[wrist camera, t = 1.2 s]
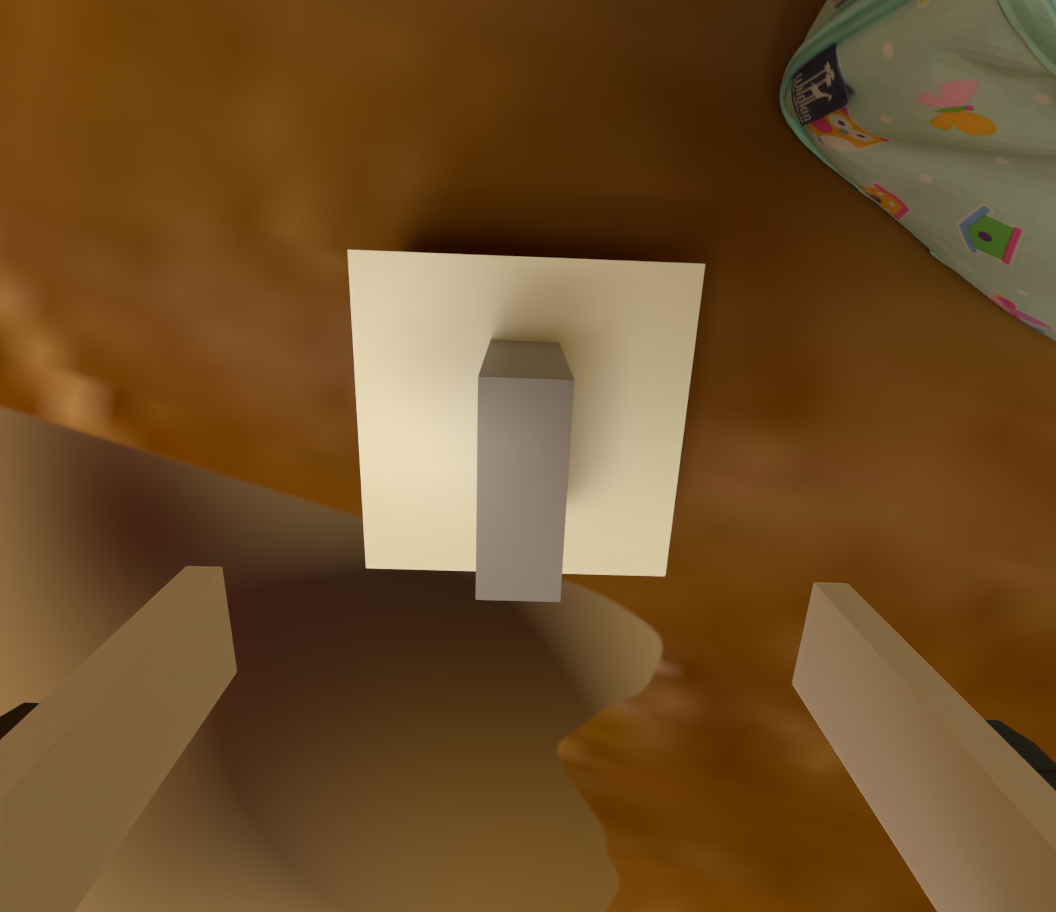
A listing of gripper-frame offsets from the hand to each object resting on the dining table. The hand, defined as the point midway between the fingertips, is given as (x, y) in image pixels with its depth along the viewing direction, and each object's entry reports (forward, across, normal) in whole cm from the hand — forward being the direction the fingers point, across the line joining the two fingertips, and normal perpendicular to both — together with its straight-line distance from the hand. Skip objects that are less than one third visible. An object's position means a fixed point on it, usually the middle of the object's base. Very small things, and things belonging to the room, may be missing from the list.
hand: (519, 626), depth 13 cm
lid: (+17, 0, 0) cm, 17 cm away
